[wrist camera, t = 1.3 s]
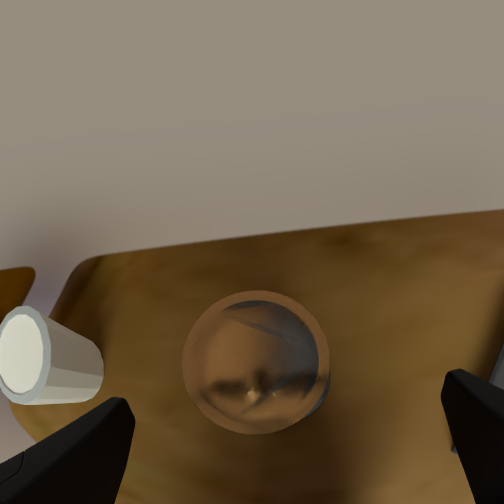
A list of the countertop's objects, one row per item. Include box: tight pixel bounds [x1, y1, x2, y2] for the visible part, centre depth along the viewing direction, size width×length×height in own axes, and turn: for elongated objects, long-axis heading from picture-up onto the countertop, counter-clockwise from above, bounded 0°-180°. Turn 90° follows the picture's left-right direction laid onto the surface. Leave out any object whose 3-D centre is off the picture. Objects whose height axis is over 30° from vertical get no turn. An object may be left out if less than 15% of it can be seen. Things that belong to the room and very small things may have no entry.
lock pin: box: [182, 290, 330, 435], centre depth 14 cm, size 6×6×12 cm
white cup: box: [0, 306, 104, 405], centre depth 19 cm, size 7×7×7 cm
